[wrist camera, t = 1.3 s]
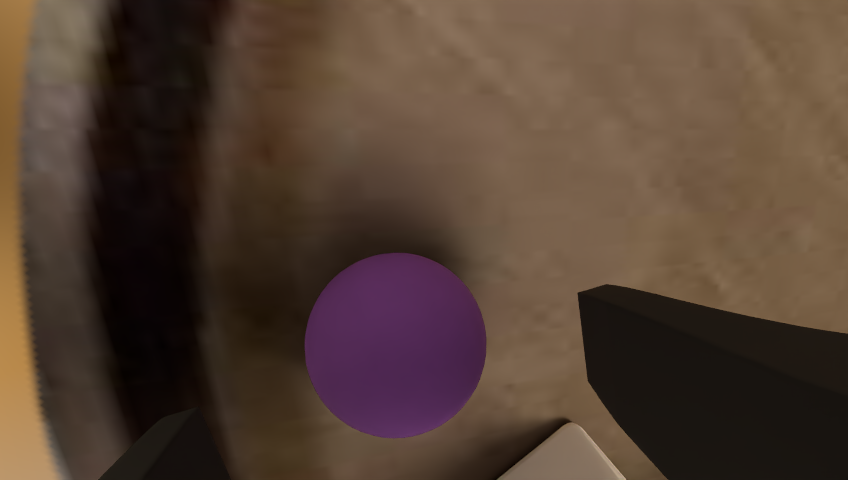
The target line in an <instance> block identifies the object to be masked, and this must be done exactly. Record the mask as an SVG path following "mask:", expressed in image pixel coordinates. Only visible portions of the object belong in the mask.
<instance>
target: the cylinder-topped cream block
mask: <svg viewBox="0 0 848 480" xmlns="http://www.w3.org/2000/svg"><path fill="white" fill-rule="evenodd" d="M497 480H626V478H625V477H624V476H623V475H622V474H621V473H620V472H619V470H618V469H617V468H616V467H615V466H614V465H613V463H612V462H611V461H610V460H609V459H608V458H607V456H606V455H605V454H604V453H603V452H602V451H601V449H600V448H599V447H598V446H597V445H596V444H595V442H594V441H593V440H592V439H591V438H590V437H589V435H588V434H587V433H586V432H585V431H584V430H583V428H582V427H580V426H579V425H577V424H575V423H574V422H573V423H567V424H565V425H563V426H562V427H561V428H560V429H558V430H557V431H556V432H555V433H554V434H552V435H551V436H550V437H549V438H547V439H546V440H545V441H544V442H542V443H541V444H540V445H539V446H538V447H536V448H535V449H534V450H533V451H531V452H530V453H529V454H528V455H526V456H525V457H524V458H523V459H522V460H520V461H519V462H518V463H517V464H515V465H514V466H513V467H512V468H510V469H509V470H508V471H507V472H506V473H504V474H503V475H502V476H501V477H499V478H498V479H497Z"/></svg>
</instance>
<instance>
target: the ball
mask: <svg viewBox="0 0 848 480" xmlns="http://www.w3.org/2000/svg"><path fill="white" fill-rule="evenodd" d="M305 357H306V365H307V369H308V373H309V376H310V379H311V381H312V384H313V386H314V388H315V390H316V392H317V394H318V395H319V397H320V398H321V400H322V401H323V403H324V404H325V405H326V406H327V407H328V409H329V410H330V411H331V412H332V413H333V414H334V415H335V416H337V417H338V418H339V419H340V420H342V421H343V422H344V423H346V424H347V425H349V426H351V427H352V428H354V429H357V430H359V431H361V432H364V433H367V434H370V435H373V436H378V437H384V438H405V437H411V436H415V435H419V434H423V433H425V432H428V431H431V430H433V429H435V428H437V427H439V426H440V425H442V424H443V423H445V422H447V421H448V420H449V419H451V418H452V417H453V416H454V415H455V414H456V413H457V412H458V411H459V410H460V409H461V408H462V407H463V406H464V405H465V403H466V402H467V401H468V400H469V398H470V397H471V395H472V393H473V392H474V390H475V389H476V387H477V384H478V382H479V380H480V377H481V374H482V370H483V367H484V363H485V357H486V332H485V326H484V322H483V318H482V315H481V311H480V309H479V307H478V304H477V302H476V301H475V299H474V297H473V295H472V294H471V292H470V291H469V289H468V288H467V287H466V286H465V284H464V283H463V282H462V281H461V280H460V279H459V278H458V277H457V276H456V275H455V274H454V273H452V272H451V271H450V270H449V269H447V268H446V267H444V266H443V265H441V264H439V263H437V262H435V261H433V260H430V259H428V258H425V257H422V256H419V255H414V254H409V253H385V254H379V255H375V256H371V257H368V258H365V259H362V260H360V261H358V262H356V263H354V264H352V265H351V266H349V267H347V268H346V269H344V270H343V271H341V272H340V273H339V274H338V275H337V276H336V277H334V278H333V279H332V280H331V281H330V283H329V284H328V285H327V286H326V287H325V288H324V290H323V291H322V293H321V294H320V295H319V297H318V299H317V301H316V303H315V305H314V307H313V309H312V311H311V314H310V317H309V319H308V324H307V329H306V334H305Z"/></svg>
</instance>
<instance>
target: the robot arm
mask: <svg viewBox="0 0 848 480" xmlns="http://www.w3.org/2000/svg"><path fill="white" fill-rule="evenodd" d="M578 301H579V309H580V318H581V326H582V335H583V343H584V352H585V360H586V369H587V377H588V382H589V383H590V385H591V386H592V388H593V389H594V391H595V392H596V394H597V395H598V397H599V398H600V400H601V401H602V403H603V404H604V405H605V407H606V408H607V410H608V411H609V412H610V414H611V415H612V417H613V418H614V419H615V421H616V422H617V423H618V425H619V426H620V427H621V428H622V429H623V430H624V431H625V433H626V434H627V435H628V436H629V437H630V438H631V439H632V440H633V442H634V443H635V444H636V445H637V446H638V447H639V448H640V449H641V450H642V452H643V453H644V454H645V455H646V456H647V457H648V458H649V459H650V460H651V461H652V463H653V464H654V465H655V466H656V467H657V468H658V469H659V470H660V471H661V472H662V473H663V475H664V476H665V477H666V478H667V479H668V480H848V334H846V333H839V332H832V331H825V330H819V329H813V328H807V327H801V326H796V325H790V324H785V323H780V322H775V321H770V320H765V319H760V318H755V317H750V316H746V315H741V314H737V313H732V312H727V311H723V310H719V309H715V308H710V307H706V306H702V305H698V304H694V303H690V302H686V301H681V300H677V299H673V298H669V297H665V296H661V295H657V294H653V293H649V292H645V291H640V290H636V289H631V288H627V287H622V286H616V285H609V284H606V285H602V286H599V287H596V288H592V289H589V290H586V291H582V292H579V293H578ZM98 480H231V479H230V476H229V474H228V472H227V470H226V467H225V465H224V463H223V460H222V458H221V456H220V454H219V451H218V449H217V447H216V445H215V442H214V440H213V438H212V436H211V433H210V431H209V429H208V426H207V424H206V422H205V420H204V417H203V415H202V413H201V411H200V408H199V407H196V408H192V409H189V410H186V411H182V412H179V413H176V414H172V415H169V416H166V417H163V418H162V419H160V420H159V421H158V422H157V423H156V424H154V425H153V426H152V427H151V428H150V429H149V430H148V431H147V432H146V433H145V434H144V435H143V436H141V437H140V438H139V439H138V440H137V441H136V442H135V443H134V444H133V445H132V446H131V447H130V448H129V449H128V450H127V451H126V452H125V453H124V454H123V455H122V456H121V457H120V458H119V459H118V460H117V461H116V462H115V463H114V464H113V465H112V466H111V467H110V468H109V469H108V470H107V471H106V472H105V473H104V474H103V475H102V476H101V477H100V478H99V479H98Z"/></svg>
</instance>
